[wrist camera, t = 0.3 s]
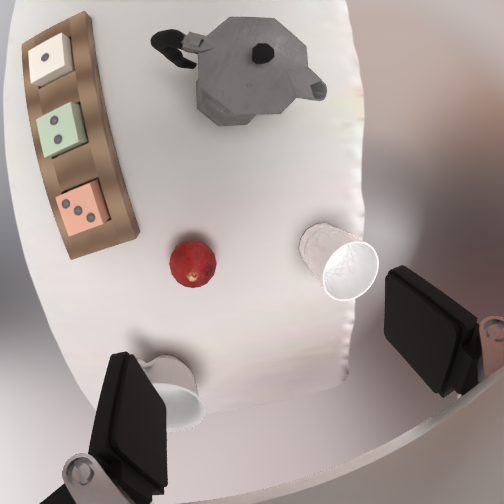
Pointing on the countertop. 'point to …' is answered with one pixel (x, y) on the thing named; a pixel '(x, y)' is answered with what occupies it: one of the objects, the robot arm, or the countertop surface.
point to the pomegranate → (192, 263)
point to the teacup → (176, 392)
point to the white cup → (339, 261)
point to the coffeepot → (244, 68)
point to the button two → (61, 129)
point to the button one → (50, 60)
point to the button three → (83, 208)
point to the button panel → (87, 154)
